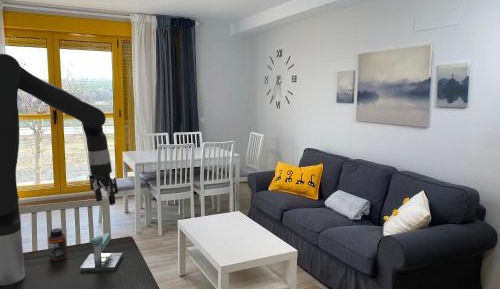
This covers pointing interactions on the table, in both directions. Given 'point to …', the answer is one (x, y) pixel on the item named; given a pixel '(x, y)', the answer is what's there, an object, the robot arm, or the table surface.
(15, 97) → the robot arm
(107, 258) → the plate
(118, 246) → the table surface
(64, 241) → the supplement bottle
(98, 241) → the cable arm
